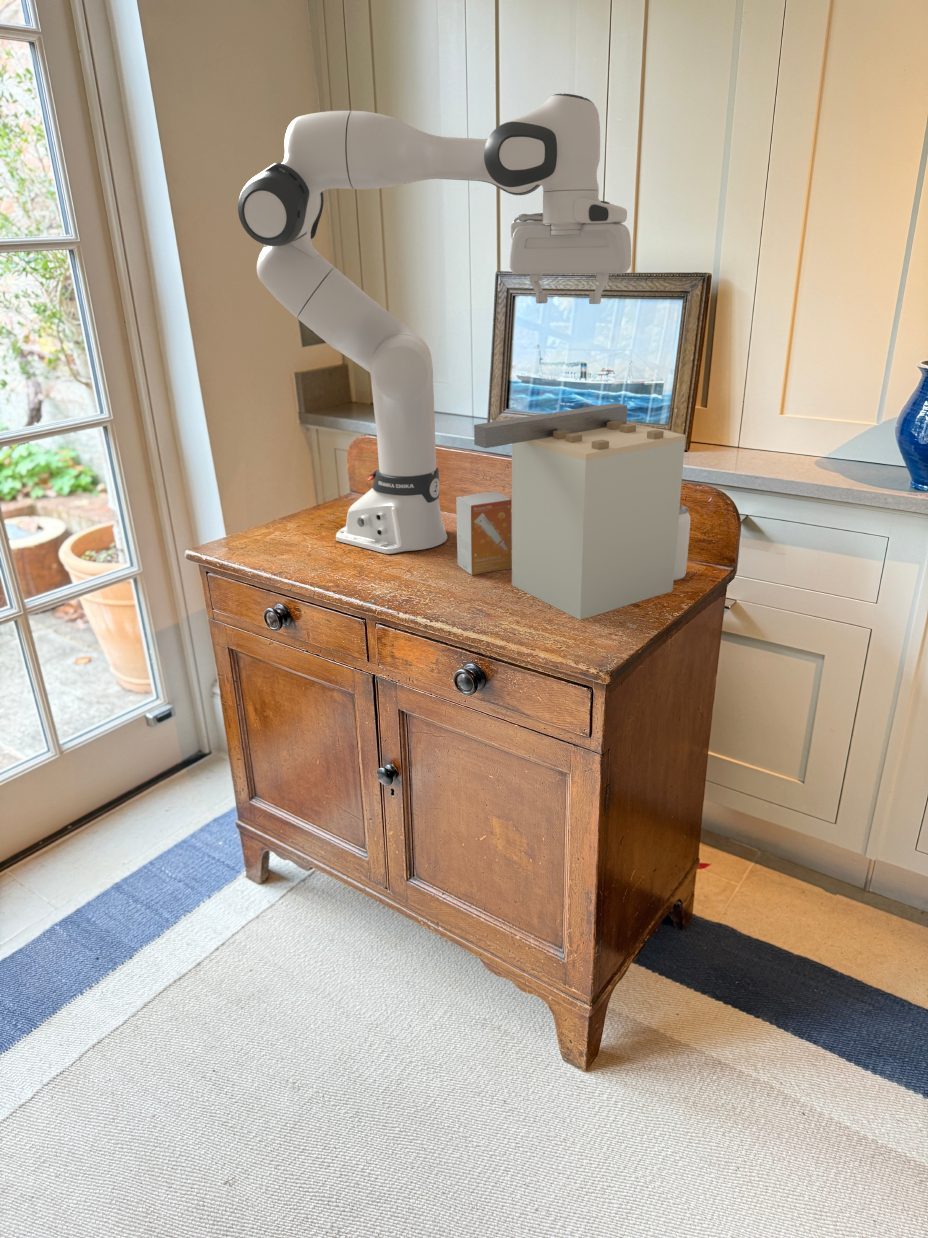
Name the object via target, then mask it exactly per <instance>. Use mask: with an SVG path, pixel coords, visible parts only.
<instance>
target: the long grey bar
mask: <svg viewBox="0 0 928 1238" xmlns="http://www.w3.org/2000/svg"><path fill="white" fill-rule="evenodd" d="M627 419H628V405H626V404H622V403H616V402H614V403H612V402H611V403H605V404H600V405H593V406H588V407H581V408H580V407H579V408H575V409H567V410H561V411H555V412H547V413H542V414H535V415H528V416H522V417H516V418H509V419H503V420H497V421H491V422H490V421H489V422H483V423H475V424H474V425H473V430H474V431H473V438H474V440H473V441H474V446H477V447H481V448H483V449H489V448H496V447H501V446H508V445H512V444H513V443H519V442H525V441H531V440H537V439H542V438H548V437H553V431H559V430H566V431H570V434H571V433H577V432H583V431H589V430H595V429H600V428H606V427H607V422H612V421H620V422H623V425H624V424H627V422H628V420H627Z"/></svg>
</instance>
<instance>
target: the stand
mask: <svg viewBox="0 0 928 1238" xmlns="http://www.w3.org/2000/svg"><path fill="white" fill-rule="evenodd" d="M685 446H686V434H682V433H679V432H675V431H670V430H665V429H660V428H656V427H650V426H646V425H642V424H637V423H633V422H628V421H627V424H624V425H623V422H620V421H612V422H607V427H606V428H600V429H595V430H589V431H583V432H577V433H571V434H570V431H566V430H559V431H553V437H548V438H542V439H537V440H531V441H525V442H519V443H513V444H511V501H512V505H511V512H512V550H511V586H513V587H515V588H516V589H518V590H520V591H522V592H524V593H526V594H528V595H530V596H532V597H534V598H536V599H538V600H540V601H542V602H544V603H546V604H548V605H550V606H552V607H554V608H556V609H557V610H558V611H559V610H560V612H561V611H562V612H563V613H564V614H568V615H569V616H571V617H573V618H575V619H576V620H579V621H583V620H586V619H588V618H592V617H594V616H597V615H600V614H604V613H608V612H610V611H611V612H612V611H613V610H617V609H620V608H624V607H627V606H630V605H633V604H637V603H639V602H642V601H643V602H644V601H646V600H648V599H652V598H655V597H658V596H661V595H665V594H668V593H671V592H673V591H674V589H673V588H674V581H673V580H674V568H675V556H676V544H677V532H678V520H679V508H680V505H681V494H682V483H683V482H682V481H683V471H684V460H685V459H684V457H685V449H686V448H685Z"/></svg>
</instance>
